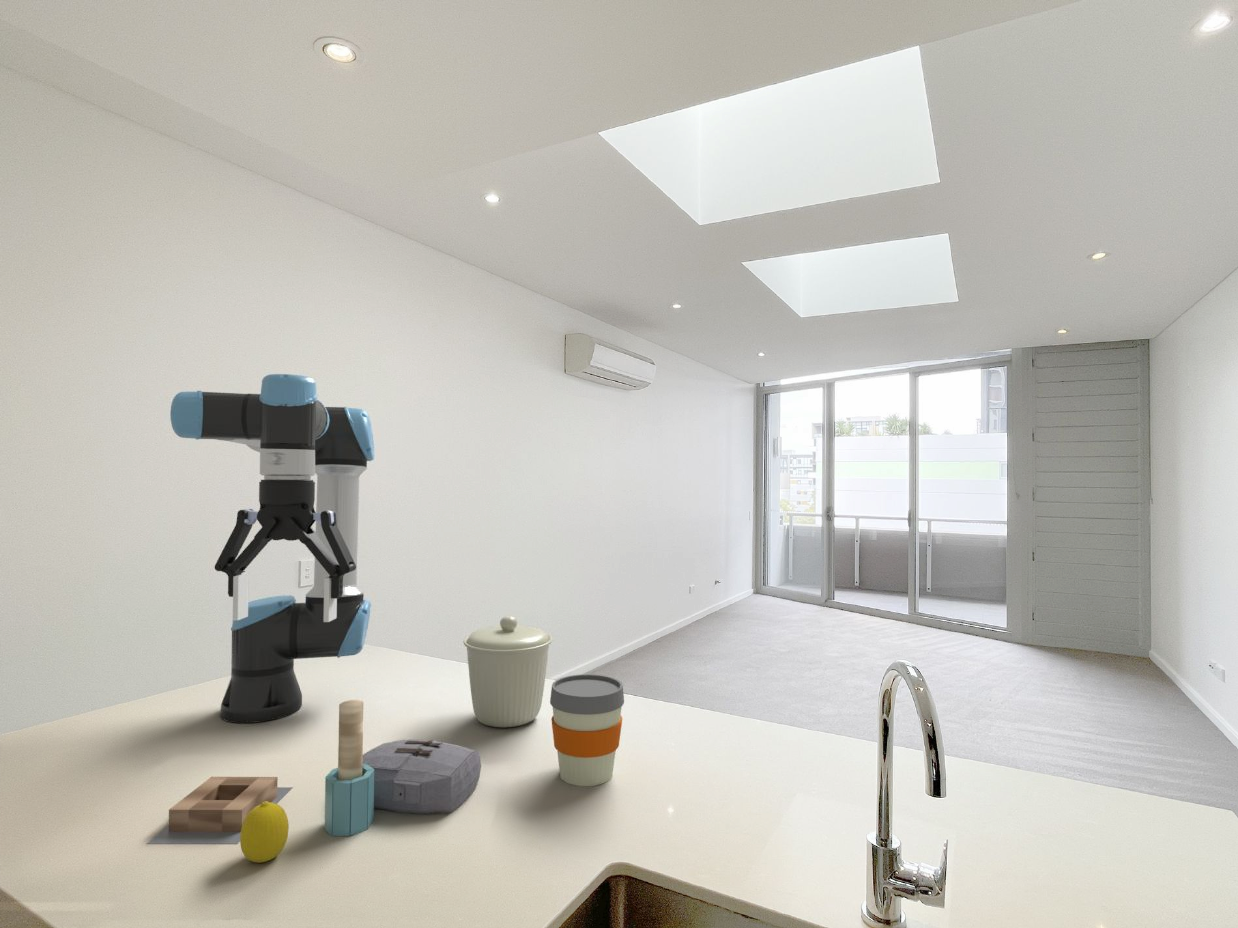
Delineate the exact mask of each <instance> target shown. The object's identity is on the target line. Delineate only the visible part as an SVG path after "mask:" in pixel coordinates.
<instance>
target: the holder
mask: <svg viewBox="0 0 1238 928" xmlns="http://www.w3.org/2000/svg"><path fill="white" fill-rule="evenodd" d="M277 787H278V776H211V777H209V778H208V779H207V780H206V781H204V782H203V783H202V784H200V785H199V786H197V787H196V788H195V789H194V790H192V791H191V792H189V793H188V795H186V796H185V797H183V798H182V799H181V800H179V801H178V802H177V803H176V804H175V805H173V806H171V808H169V809H168V826H169V830H168V832H241V829H242V825H243V822H244V820H245V818H246V816H247V815H248V813H249V812H250V811H251V810H252V809H253V808H255V807H256V806H258V805H260V804H262V803H263V802H264V801H268V802H270V803H271V802H272V801H273V800H274V799H275V798H276V797H277Z"/></svg>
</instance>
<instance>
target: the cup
mask: <svg viewBox="0 0 1238 928" xmlns="http://www.w3.org/2000/svg"><path fill="white" fill-rule="evenodd" d="M324 778H325V782H324V783H325V785H324V787H325V788H324V791H325V792H324V793H325V795H324V830H325V831H326V832H327V833H328V834H329V835H330V836H333V837H351V836H353V835H354V836H355V835H357V834H359V833H362V832H364V831H366V830H368V829H369V828H370V826H371V825H372V823H373V822H374V820H375V818H374V817H375V813H374V811H375V808H374V769H373V768H372V767H370V766H369V765H367V764H362V777H359V778H356V779H353V780H338V767H336V768H332V769H331V770H330V771H329V772H328V774H327V775H325V777H324Z"/></svg>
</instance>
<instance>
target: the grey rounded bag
mask: <svg viewBox="0 0 1238 928" xmlns="http://www.w3.org/2000/svg"><path fill="white" fill-rule="evenodd" d="M362 764H367V765H369V766H370V767H372V768H373V769H374V809H378V810H379V809H380V810H385V811H391V812H397V813H405V814H420V815H423V814H425V815H426V814H427V815H428V814H451V813H453V812H455V811H456V810H457V809H459V808H460V807H461V806H462V805H463V804H465V802H466V801H468V799H469V798H470V797H471V795H472V794H473V792H475V790H476V788H477V785H478V783H479V781H480V777H481V770H482V769H481V768H482V762H481V755H480V754H479V751H478V750H475V749H471V748H469V747H465V746H461V745H458V744H453V743H449V742H448V743H447V742H443V741H437V740H435V739H414V738H413V739H401V740H396V741H395V740H394V741H391V742H384V743H382V744H379V745H378V746H375V747H372V748H371V749H369V750H368V751H367V752H365V753H363V761H362Z"/></svg>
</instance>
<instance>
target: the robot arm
mask: <svg viewBox="0 0 1238 928" xmlns="http://www.w3.org/2000/svg"><path fill="white" fill-rule="evenodd" d="M260 387H261V389H260V393H235V392H219V391H218V392H216V391H215V392H214V391H202V390H196V391H179V392H178V393H177V394H175V396H174V397H173V399H172V402H171V405H170V422H171V428H172V430H173V433H175V434H176V435H177V436H178V437H180V438H181V439H182V438H183V439H195V440H217V441H224V442H231V443H235V444H241V445H246V446H247V447H248V448H250V449H251V450H252V451H255V452H258V453H259V474H260V475H261V476H263V479H260V481H259V482H258V483H259V485H258V502H259V510H258V511H256V510H254V509H253V508H247V509H246V508H245V509H240V510H238V511H237V515H236V522H235V525H234V527H233V530H232V532H231V533H230V536H229V537H228V539H227V541H226V544H225V545H224V547H223V549H222V551H221V553H220V554H219V557H218V558H217V560H216V563H215V565H214V570H215V571H216V572H222V573H225V575H227V580H228V581H227V594H228V595H227V596H228V597H230V598H232V626H231V628H230V630H231V671H230V675H231V676H230V679H229V681H228V684H227V688H226V690H225V693H224V696H223V699H222V701H221V704H220V717H221V719H222V720H224V721H226V722H229V723H238V724H239V723H242V724H246V723H247V724H249V723H260V722H265V721H266V722H267V721H272V720H276V719H281V718H283V717H287V716H289V715H291V714H293V713H296V712H298V711H299V709H300V710H301V708H302V706H303V694H302V690H301V688H300V685H299V682H298V679H297V676H296V673H295V670H294V669H295V667H294V664H295V663H294V661H295V659H296V660H300V659H301V660H302V659H316V658H333V657H335V658H336V657H337V659H339V658H341V657H349V656H356V655H358V654H359V653H361V651H362V650H363V648H364V645H365V642H366V638H367V633H368V627H369V622H370V615H371V607H372V606H371V605H372V603H371V601H370V600H368V599H364V593H365V592H364V591H363V590H362V589H361V588H360V587H359V586H358V585H357V578H358V576H357V574H358V543H359V542H358V540H359V537H358V536H359V534H358V533H359V532H358V531H359V503H360V497H359V495H360V476H361V475H362V474H363V473H364V472H365V471H366V470H368V469H367V467H368V466H367V465H368V462H372V461H374V459H375V444H374V435H373V428H372V423H371V419H370V416H369V413H368V412H367V411H366V410H364V409H362V408H353V407H347V406H325V405H324V404H323V403H322V402H321V401H320V400H318V393H317V383H316V381H315V379H314V378H312V377H310V376H305V375H299V374H288V373H273V374H272V373H271V374H270V373H269V374H267V375H265V376H264V377H263V378H262V379H261V386H260ZM315 475H316V476H317V477H316V479H317V480H316V481H317V482H315V481H314V479H311V477H313V476H315ZM315 495H316V498H315ZM315 499H316V502H315ZM315 503H316V507H315V506H314V505H315ZM315 508H316V509H315ZM256 522H258V523H259V524H260V526H261V528H260V529H259V530H258V531H257V533H256V534H255V535H254V536H253V539H252V540H251V541H250V543H249V544H248V545H247V546H246V547H245V548H244V550H242V552H241V549H242V548H243V545H244V543H245V542H246V540H247V537H248V536H249V535H250V531H251V529H252V528H253V525H254V524H256ZM313 524H315V529H314V528H313V527H312V526H313ZM282 540H285V541H289V542H291V541H292V542H293V541H298V540H299V542H300V543H301V544H304V545H305V547H306V548H307V549H308V551H309V552H310V553H311V554H312V555H313V557H314V567H313V569H314V571H313V572H314V573H313V586H312V588H311V589H309V591H308V592H307V593H305V602H296V601H297V600H296V598H295V596H294V595H285V594H283V595H276V596H271V597H270V596H269V597H265V598H259V599H258V598H257V599H255V600H254V599H253V600H252V601H249V584H250V583H249V582H250V581H249V579H250V578H249V577H250V576H249V574H250V573H245V572H246V569H247V568H248V566H250V564H251V563H252V562H253V561H254V559H255V558H256V557H258V555H259V554H260V553H261V552H262V550H263V549H264V548H265V547H266V546H267V544H269V542H271V541H282ZM240 552H241V553H240Z"/></svg>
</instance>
